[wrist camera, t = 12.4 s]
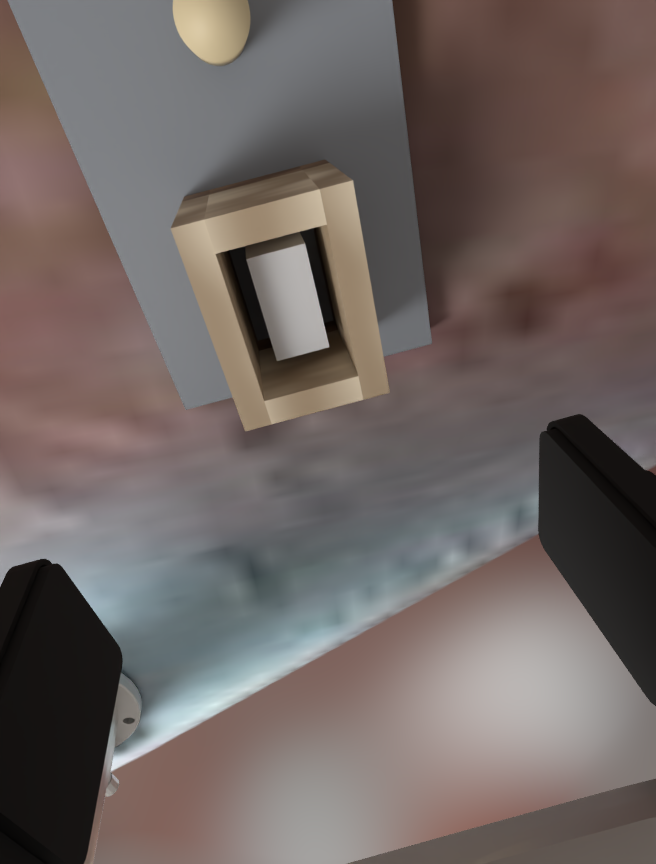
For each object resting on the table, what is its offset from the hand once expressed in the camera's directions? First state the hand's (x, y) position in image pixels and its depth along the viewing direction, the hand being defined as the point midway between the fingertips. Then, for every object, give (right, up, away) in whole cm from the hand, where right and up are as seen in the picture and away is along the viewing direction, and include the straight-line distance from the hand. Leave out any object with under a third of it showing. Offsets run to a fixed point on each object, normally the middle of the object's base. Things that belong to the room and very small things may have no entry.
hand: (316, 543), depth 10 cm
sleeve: (-2, +9, +14) cm, 17 cm away
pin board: (-3, +13, +13) cm, 19 cm away
